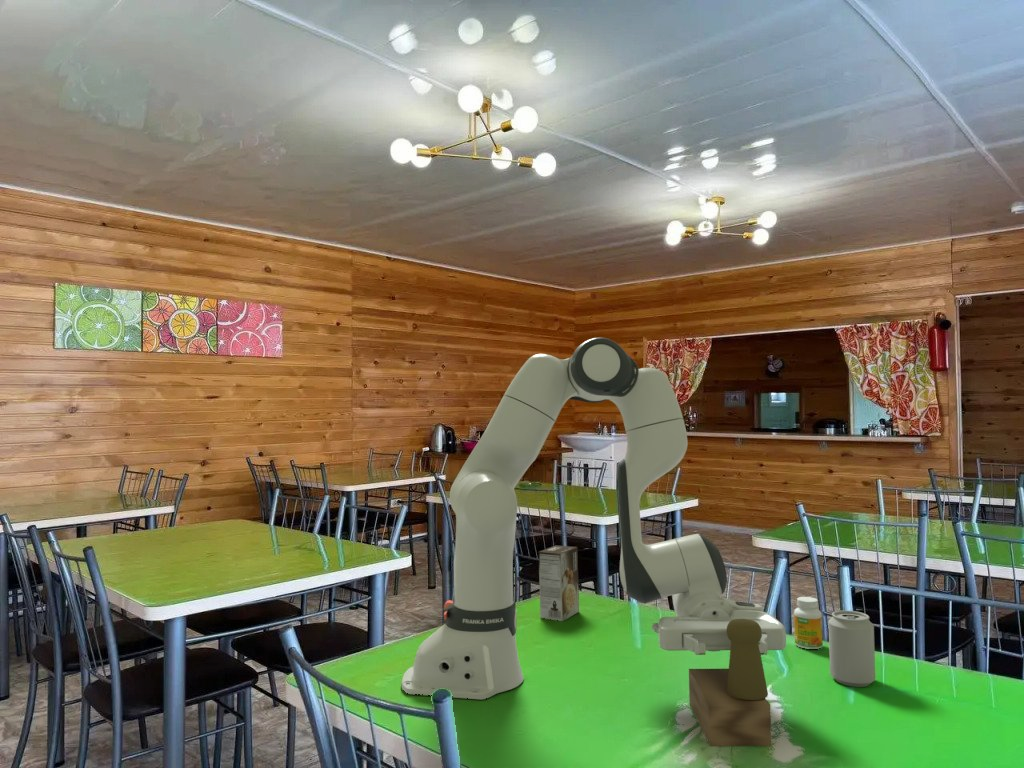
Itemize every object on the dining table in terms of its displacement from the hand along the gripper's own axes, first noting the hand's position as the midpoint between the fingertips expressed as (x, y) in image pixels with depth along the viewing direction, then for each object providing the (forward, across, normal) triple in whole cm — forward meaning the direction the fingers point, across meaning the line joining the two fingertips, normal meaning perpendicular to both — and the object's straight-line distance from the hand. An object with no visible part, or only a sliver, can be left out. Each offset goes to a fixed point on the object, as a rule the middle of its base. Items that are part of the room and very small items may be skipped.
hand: (731, 649), depth 113 cm
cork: (-1, +2, +7) cm, 7 cm away
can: (-22, +27, +13) cm, 37 cm away
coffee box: (-65, -25, +13) cm, 71 cm away
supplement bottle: (-41, +26, +13) cm, 50 cm away
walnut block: (-4, 0, +13) cm, 13 cm away
